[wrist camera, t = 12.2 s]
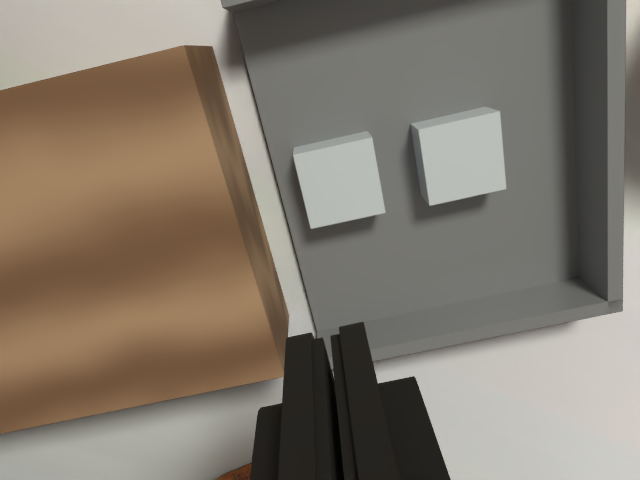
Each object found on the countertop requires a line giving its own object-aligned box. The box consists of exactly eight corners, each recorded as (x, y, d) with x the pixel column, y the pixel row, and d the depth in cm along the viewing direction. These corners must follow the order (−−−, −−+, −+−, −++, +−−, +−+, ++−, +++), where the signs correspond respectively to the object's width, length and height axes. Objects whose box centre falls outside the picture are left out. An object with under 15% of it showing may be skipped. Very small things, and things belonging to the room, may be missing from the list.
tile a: (499, 111, 23) (485, 106, 25) (418, 129, 24) (410, 123, 25) (506, 189, 25) (492, 179, 27) (429, 205, 25) (421, 195, 27)
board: (-188, 144, 26) (-325, 170, 20) (212, 46, 24) (183, 45, 19) (-40, 384, 31) (-115, 456, 26) (288, 315, 30) (284, 376, 24)
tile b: (372, 137, 24) (367, 131, 26) (292, 155, 24) (293, 147, 26) (385, 212, 25) (380, 201, 27) (310, 228, 25) (310, 216, 27)
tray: (229, -5, 23) (217, -13, 20) (581, -93, 22) (627, -117, 19) (319, 337, 31) (320, 371, 27) (588, 282, 30) (622, 311, 26)
